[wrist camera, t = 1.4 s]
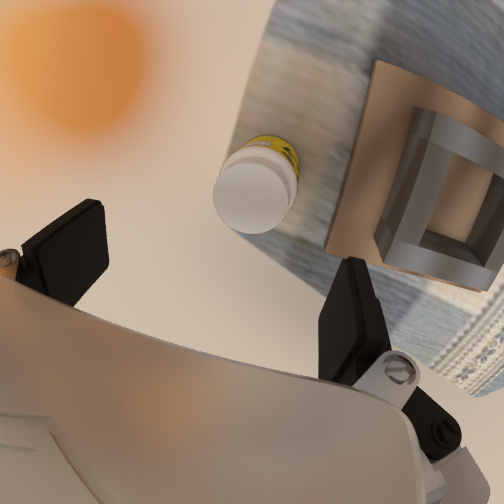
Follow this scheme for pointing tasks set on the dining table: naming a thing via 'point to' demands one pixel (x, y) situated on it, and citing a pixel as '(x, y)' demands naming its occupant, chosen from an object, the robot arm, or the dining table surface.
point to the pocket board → (385, 158)
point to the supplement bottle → (257, 184)
